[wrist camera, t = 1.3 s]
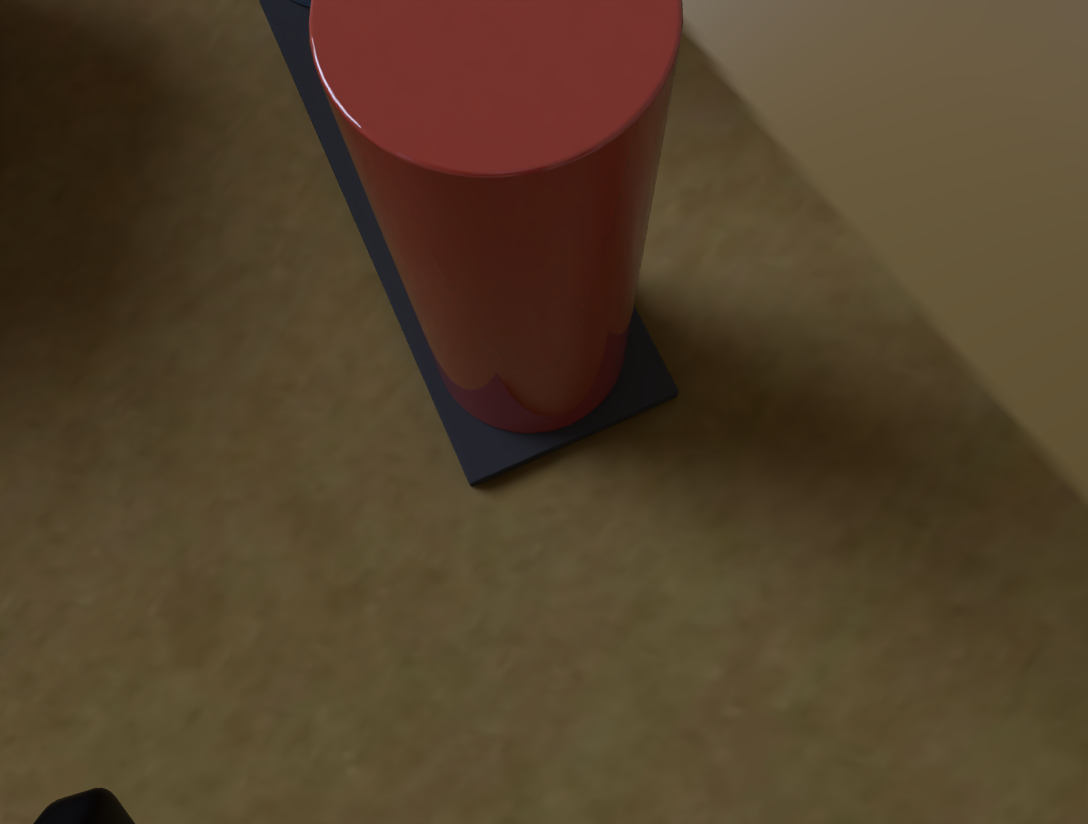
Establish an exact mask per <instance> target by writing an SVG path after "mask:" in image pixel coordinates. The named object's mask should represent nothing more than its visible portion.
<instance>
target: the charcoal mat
mask: <svg viewBox="0 0 1088 824" xmlns="http://www.w3.org/2000/svg"><path fill="white" fill-rule="evenodd" d="M259 1H260V4H261V6H262V8H263V10H264V13H265V15H266V17H267V20H268V22H269V24H270V27H271V29H272V31H273V33H274V36H275V38H276V40H277V43H278V45H279V47H280V50H281V52H282V54H283V56H284V59H285V61H286V63H287V66H288V68H289V70H290V73H291V75H292V77H293V79H294V82H295V84H296V86H297V89H298V91H299V93H300V96H301V98H302V100H303V102H304V105H305V107H306V109H307V112H308V114H309V116H310V119H311V121H312V123H313V125H314V128H315V130H316V132H317V135H318V137H319V139H320V142H321V144H322V146H323V148H324V151H325V153H326V155H327V158H328V160H329V162H330V165H331V167H332V169H333V171H334V174H335V176H336V178H337V181H338V183H339V185H340V188H341V190H342V192H343V194H344V197H345V199H346V201H347V204H348V206H349V208H350V211H351V213H352V215H353V217H354V220H355V222H356V224H357V227H358V229H359V231H360V234H361V236H362V238H363V240H364V243H365V245H366V247H367V250H368V252H369V254H370V257H371V259H372V261H373V263H374V266H375V268H376V270H377V273H378V275H379V277H380V280H381V282H382V284H383V286H384V289H385V291H386V293H387V296H388V298H389V300H390V303H391V305H392V307H393V309H394V312H395V314H396V316H397V319H398V321H399V323H400V326H401V328H402V330H403V332H404V335H405V337H406V339H407V342H408V344H409V346H410V349H411V351H412V353H413V355H414V358H415V360H416V362H417V365H418V367H419V369H420V372H421V374H422V376H423V379H424V381H425V383H426V385H427V388H428V390H429V392H430V395H431V397H432V399H433V402H434V404H435V406H436V408H437V411H438V413H439V415H440V418H441V420H442V422H443V425H444V427H445V429H446V431H447V434H448V436H449V438H450V441H451V443H452V445H453V448H454V450H455V452H456V454H457V457H458V459H459V461H460V464H461V466H462V468H463V471H464V473H465V475H466V477H467V480H468V482H469V484H470V486H471V487H474V486H476V485H478V484H480V483H483V482H485V481H487V480H489V479H492V478H494V477H496V476H498V475H501V474H503V473H505V472H507V471H510V470H512V469H514V468H517V467H519V466H521V465H523V464H526V463H528V462H530V461H532V460H535V459H537V458H539V457H541V456H544V455H546V454H548V453H550V452H553V451H555V450H557V449H559V448H562V447H564V446H566V445H568V444H571V443H573V442H575V441H578V440H580V439H582V438H584V437H587V436H589V435H591V434H593V433H596V432H598V431H600V430H602V429H605V428H607V427H609V426H611V425H614V424H616V423H618V422H620V421H623V420H625V419H627V418H630V417H632V416H634V415H636V414H639V413H641V412H643V411H645V410H648V409H650V408H652V407H654V406H657V405H659V404H661V403H663V402H666V401H668V400H670V399H672V398H675V397H676V396H677V395H678V389H677V387H676V385H675V383H674V381H673V380H672V378H671V376H670V374H669V372H668V370H667V368H666V366H665V364H664V362H663V360H662V358H661V356H660V354H659V352H658V350H657V349H656V347H655V345H654V343H653V341H652V339H651V337H650V335H649V333H648V331H647V329H646V327H645V325H644V323H643V321H642V320H641V318H640V316H639V314H638V312H637V310H636V308H635V306H634V308H633V313H632V319H631V325H630V330H629V336H628V342H627V347H626V353H625V359H624V362H623V366H622V369H621V372H620V374H619V377H618V379H617V381H616V383H615V385H614V386H613V388H612V390H611V391H610V393H609V394H608V395H607V396H606V398H605V399H604V400H603V401H602V402H601V403H600V404H599V405H598V406H597V407H596V408H595V409H594V410H593V411H591V412H590V413H589V414H587V415H586V416H584V417H583V418H581V419H579V420H577V421H576V422H574V423H572V424H570V425H567V426H564V427H562V428H559V429H555V430H551V431H547V432H538V433H519V432H512V431H507V430H503V429H499V428H496V427H493V426H491V425H489V424H486V423H484V422H482V421H480V420H479V419H477V418H475V417H474V416H472V415H471V414H470V413H468V412H467V411H466V410H464V409H463V408H462V407H461V406H460V405H459V404H458V403H457V402H456V401H455V399H454V398H453V397H452V395H451V394H450V393H449V391H448V390H447V388H446V386H445V385H444V383H443V381H442V379H441V377H440V374H439V372H438V369H437V367H436V364H435V362H434V359H433V357H432V354H431V352H430V350H429V347H428V345H427V342H426V340H425V337H424V335H423V332H422V330H421V327H420V325H419V323H418V320H417V318H416V315H415V313H414V310H413V308H412V305H411V303H410V300H409V298H408V296H407V293H406V291H405V288H404V286H403V283H402V281H401V278H400V276H399V273H398V271H397V269H396V266H395V264H394V261H393V259H392V256H391V254H390V251H389V249H388V246H387V244H386V242H385V239H384V237H383V234H382V232H381V229H380V227H379V224H378V222H377V220H376V217H375V215H374V212H373V210H372V207H371V205H370V202H369V200H368V197H367V195H366V193H365V190H364V188H363V185H362V183H361V180H360V178H359V175H358V173H357V170H356V168H355V166H354V163H353V161H352V158H351V156H350V153H349V151H348V148H347V146H346V143H345V141H344V139H343V136H342V134H341V131H340V129H339V126H338V124H337V121H336V119H335V116H334V114H333V112H332V109H331V107H330V104H329V102H328V99H327V97H326V94H325V92H324V89H323V87H322V85H321V82H320V79H319V77H318V74H317V71H316V69H315V66H314V63H313V58H312V53H311V48H310V43H309V14H310V7H306V6H304V5H301V4H298V3H296V2H294V1H292V0H259Z"/></svg>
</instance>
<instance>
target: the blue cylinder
mask: <svg viewBox="0 0 1088 824" xmlns="http://www.w3.org/2000/svg"><path fill="white" fill-rule="evenodd" d="M292 1H294V2H296V3H298V4H301V5H304V6H306V7H310V5H311V0H292Z"/></svg>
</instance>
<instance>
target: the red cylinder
mask: <svg viewBox="0 0 1088 824" xmlns="http://www.w3.org/2000/svg"><path fill="white" fill-rule="evenodd" d="M682 9H683V8H682V0H311V5H310V14H309V43H310V48H311V53H312V58H313V63H314V66H315V69H316V71H317V74H318V77H319V79H320V82H321V85H322V87H323V89H324V92H325V94H326V97H327V99H328V102H329V104H330V107H331V109H332V112H333V114H334V116H335V119H336V121H337V124H338V126H339V129H340V131H341V134H342V136H343V139H344V141H345V143H346V146H347V148H348V151H349V153H350V156H351V158H352V161H353V163H354V166H355V168H356V170H357V173H358V175H359V178H360V180H361V183H362V185H363V188H364V190H365V193H366V195H367V197H368V200H369V202H370V205H371V207H372V210H373V212H374V215H375V217H376V220H377V222H378V224H379V227H380V229H381V232H382V234H383V237H384V239H385V242H386V244H387V246H388V249H389V251H390V254H391V256H392V259H393V261H394V264H395V266H396V269H397V271H398V273H399V276H400V278H401V281H402V283H403V286H404V288H405V291H406V293H407V296H408V298H409V300H410V303H411V305H412V308H413V310H414V313H415V315H416V318H417V320H418V323H419V325H420V327H421V330H422V332H423V335H424V337H425V340H426V342H427V345H428V347H429V350H430V352H431V354H432V357H433V359H434V362H435V364H436V367H437V369H438V372H439V374H440V377H441V379H442V381H443V383H444V385H445V386H446V388H447V390H448V391H449V393H450V394H451V395H452V397H453V398H454V399H455V401H456V402H457V403H458V404H459V405H460V406H461V407H462V408H463V409H464V410H466V411H467V412H468V413H470V414H471V415H472V416H474V417H475V418H477V419H479V420H480V421H482V422H484V423H486V424H489V425H491V426H493V427H496V428H499V429H503V430H507V431H512V432H519V433H538V432H547V431H551V430H555V429H559V428H562V427H564V426H567V425H570V424H572V423H574V422H576V421H577V420H579V419H581V418H583V417H584V416H586V415H587V414H589V413H590V412H591V411H593V410H594V409H595V408H596V407H597V406H598V405H599V404H600V403H601V402H602V401H603V400H604V399H605V398H606V396H607V395H608V394H609V393H610V391H611V390H612V388H613V386H614V385H615V383H616V381H617V379H618V377H619V374H620V372H621V369H622V366H623V362H624V359H625V353H626V347H627V342H628V336H629V330H630V325H631V319H632V313H633V308H634V302H635V296H636V291H637V285H638V280H639V274H640V268H641V263H642V257H643V251H644V246H645V240H646V234H647V229H648V223H649V217H650V212H651V206H652V200H653V195H654V189H655V184H656V178H657V172H658V167H659V161H660V155H661V150H662V144H663V138H664V133H665V127H666V121H667V116H668V110H669V105H670V99H671V93H672V88H673V82H674V76H675V71H676V65H677V59H678V54H679V48H680V42H681V34H682V26H683V10H682Z"/></svg>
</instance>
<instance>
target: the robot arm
mask: <svg viewBox="0 0 1088 824" xmlns="http://www.w3.org/2000/svg"><path fill="white" fill-rule="evenodd" d="M33 824H135V823H134V821H133V820H132V819H131V817H130V816H129V815H128V813H127V812H126V810H125V809H124V808H123V806H122V805H121V804H120V802H119V801H118V799H117V798H116V797H115V796H114V795H113V793H112V792H110V791H109V790H107V789H104V788H94V789H91V790H88V791H84V792H81V793H78V794H74V795H71V796H68V797H64V798H61V799H58V800H56V801H55V802H53V803H51V804H50V805H49V806H48V807H47V808H46V809H45V810H44V811H43V812H42V813H41V814H40V816H39V817H38V818H37V820H36V821H35V822H34V823H33Z"/></svg>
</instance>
